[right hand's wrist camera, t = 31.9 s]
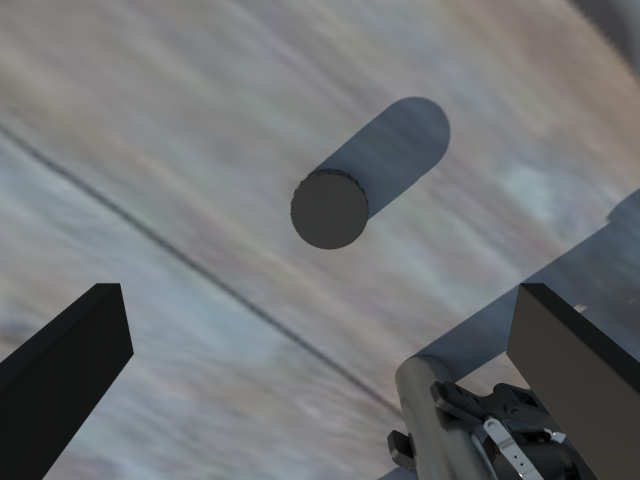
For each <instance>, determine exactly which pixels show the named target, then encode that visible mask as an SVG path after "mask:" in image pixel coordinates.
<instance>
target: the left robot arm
mask: <svg viewBox="0 0 640 480" xmlns="http://www.w3.org/2000/svg"><path fill="white" fill-rule="evenodd" d="M429 389H430V392H431V395H432V397H433V400H434V402H435V404H436V405H437V406H438V407H439V408H441V409H442V410H444V411H446V412H448V413H450V414H452V415H454V416H456V417H457V418H459V419H461V420H463V421H465V422H467V423H469V424H471V425H473V426H474V427H476V428H477V427H478V426H479V425H480V424H481V425H483V428H484V429H485V431H486V432H487V433H488V434H489V435H488V436H487V438H486V439H485V441H484V442H483V444H482V445H483V448H484V450H485V452H486V454H487V456H488V458H489V461H490V463H491V465H492V467H493V469H494V472H495V474H496V476H497V478H498V480H598V479H597V478H596V476H595V475H594V473H593V472H592V471H591V469H590V468H589V467H588V465H587V464H586V463H585V461H584V460H583V458H582V457H581V456H580V454H579V453H578V452H577V450H575V449H573V448H571V447H569V446H568V445H566V444H564V443H562V442H563V440H564V439H565V437H566V435H565V434H564V432H563V431H562V430H561V428H560V427H559V426H558V424H557V423H556V421H555V420H554V419H553V417H552V416H551V415H550V413H549V412H548V410H547V409H546V408H545V406H544V405H543V404H542V402H541V401H540V400H539V398H538V397H537V395H536V394H535V393H534V392H533V391H529V390H526V389H522V388H519V387H515V386H512V385H509V384H505V383H499V384H497V385H495V387H494V388H493V393H492V394H490V395H488V396H485V397H484V396H477V395H475V394H473V393H471V392H469V391H467V390H466V389H464V388H462V387H460V386H458V385H456V384H455V383H453V382H448V381H445V382H444V383H443V384H442V383H440V382H438V381H435V382H434V383H433V384H432V385H431V387H430V388H429ZM508 417H509V418H510V419H513V420H517V421H520V422H524V423H527V424H531V425H534V426H538V427H541V428H543V429H524V430H513V429H512V428H511V427H510V426H509V424H508V423H507V422H506V421H505V419H506V418H508ZM387 439H388V445H389V450H390V454H391V455H392V459H393V461H394V462H395V463H396V464H397V465H399V466H401V467H403V468H405V469H408V470H409V471H411V472H413V473H415V474H416V477H417V480H419V477H418V473H417V469H416V465H415V461H414V457H413V453H412V449H411V445H410V440H409V437H408V436H406V435H404V434H402V433H400V432H398V431H396V430H393V431H392V432H391V433H390V434H389V436H388V437H387Z"/></svg>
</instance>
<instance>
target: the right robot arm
mask: <svg viewBox="0 0 640 480" xmlns="http://www.w3.org/2000/svg"><path fill="white" fill-rule="evenodd" d="M133 354H134V352H133V347H132V342H131V337H130V332H129V326H128V321H127V316H126V311H125V306H124V301H123V296H122V291H121V286H120V283H96V284H95V285H94V286H93V287H92V288H90V289H89V290H88V291H87V292H86V293H84V294H83V295H82V296H81V297H80V298H78V299H77V300H76V301H75V302H73V303H72V304H71V305H70V306H69V307H67V308H66V309H65V310H64V311H63V312H61V313H60V314H59V315H58V316H57V317H55V318H54V319H53V320H52V321H50V322H49V323H48V324H47V325H46V326H44V327H43V328H42V329H41V330H40V331H38V332H37V333H36V334H35V335H34V336H32V337H31V338H30V339H29V340H27V341H26V342H25V343H24V344H23V345H21V346H20V347H19V348H18V349H17V350H15V351H14V352H13V353H12V354H11V355H9V356H8V357H7V358H6V359H4V360H3V361H2V362H1V363H0V480H42V479H43V478H44V476H45V475H46V473H47V472H48V471H49V469H50V468H51V467H52V465H53V464H54V463H55V461H56V460H57V458H58V457H59V456H60V454H61V453H62V452H63V450H64V449H65V447H66V446H67V445H68V443H69V442H70V441H71V439H72V438H73V437H74V435H75V434H76V432H77V431H78V430H79V428H80V427H81V426H82V424H83V423H84V421H85V420H86V419H87V417H88V416H89V415H90V413H91V412H92V410H93V409H94V408H95V406H96V405H97V404H98V402H99V401H100V400H101V398H102V397H103V395H104V394H105V393H106V391H107V390H108V389H109V387H110V386H111V384H112V383H113V382H114V380H115V379H116V378H117V376H118V375H119V373H120V372H121V371H122V369H123V368H124V367H125V365H126V364H127V363H128V361H129V360H130V358H131V357H132V356H133ZM506 354H507V356H508V357H509V358H510V360H511V361H512V363H513V364H514V365H515V367H516V368H517V369H518V371H519V372H520V373H521V375H522V376H523V378H524V379H525V380H526V382H527V383H528V384H529V386H530V387H531V389H532V390H533V391H534V393H535V394H536V395H537V397H538V398H539V400H540V401H541V402H542V404H543V405H544V406H545V408H546V409H547V410H548V412H549V413H550V415H551V416H552V417H553V419H554V420H555V421H556V423H557V424H558V426H559V427H560V428H561V430H562V431H563V432H564V434H565V435H566V437H567V438H568V439H569V441H570V442H571V443H572V445H573V446H574V447H575V449H576V450H577V452H578V453H579V454H580V456H581V457H582V458H583V460H584V461H585V463H586V464H587V465H588V467H589V468H590V469H591V471H592V472H593V473H594V475H595V476H596V478H597V479H598V480H640V363H639V362H638V361H637V360H636V359H634V358H633V357H632V356H631V355H629V354H628V353H627V352H626V351H625V350H623V349H622V348H621V347H620V346H619V345H617V344H616V343H615V342H614V341H613V340H611V339H610V338H609V337H608V336H606V335H605V334H604V333H603V332H602V331H600V330H599V329H598V328H597V327H596V326H594V325H593V324H592V323H591V322H590V321H588V320H587V319H586V318H585V317H583V316H582V315H581V314H580V313H579V312H577V311H576V310H575V309H574V308H573V307H571V306H570V305H569V304H568V303H567V302H565V301H564V300H563V299H562V298H560V297H559V296H558V295H557V294H556V293H554V292H553V291H552V290H551V289H550V288H548V287H547V286H546V285H545V284H544V283H520V286H519V291H518V296H517V301H516V306H515V311H514V316H513V321H512V326H511V332H510V337H509V342H508V347H507V352H506Z"/></svg>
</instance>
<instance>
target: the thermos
mask: <svg viewBox="0 0 640 480" xmlns="http://www.w3.org/2000/svg"><path fill="white" fill-rule="evenodd" d="M435 381H438V382H440V383H442V384H443V383H444V382H445V381H448V382H453V380H452V378H451V375H450V373H449V371H448V369H447V367H446V365H445V364H444V363H443V362H442V361H440V360H439V359H437V358H435V357H432V356H426V355H422V356H416V357H412V358H410V359H408V360H406V361H405V362H404V363H403V364H402V365H401V366H400V367H399V368H398V370H397V373H396V376H395V382H396V387H397V391H398V395H399V399H400V403H401V407H402V412H403V416H404V420H405V424H406V428H407V432H408V436H409V440H410V445H411V449H412V453H413V457H414V461H415V465H416V469H417V473H418V477H419V480H498V478H497V476H496V474H495V472H494V469H493V467H492V465H491V463H490V461H489V458H488V456H487V454H486V452H485V450H484V448H483V445H482V443H481V441H480V439H479V437H478V434H477V432H476V430H475V428H474V426H473V425H471V424H469V423H467V422H465V421H463V420H461V419H459V418H457V417H456V416H454V415H452V414H450V413H448V412H446V411H444V410H442V409H441V408H439V407H438V406H437V405H436V404H435V402H434V400H433V397H432V395H431V392H430V389H429V388H430V387H431V385H432V384H433V383H434V382H435ZM453 383H454V382H453Z"/></svg>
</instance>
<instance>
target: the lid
mask: <svg viewBox="0 0 640 480" xmlns="http://www.w3.org/2000/svg"><path fill="white" fill-rule="evenodd" d="M364 194H365V192H364V190H363V188H362V189H361V187H360V185H359V184H358V181H357V180H355V179H353V178H352V177H351V176H350V174H346V173H344V172H341V171H340V170H330V169H328V170H321V171H319V170H318V172H315V173H313V174H311V175H310V174H309V175H308V177H307V178H305V179H304V180H303V181H301V183H300V185H299V187H298V188H297V189H296V190H295V192H294V198H293V199H292V202H291V213H290V215H291V220H292V223H293V226H294V228H295V230H296V232H297V233H298V234H299V236H300V237H301V238H302V239H303V240H304V241H306V242H307V243H309V244H310V245H312V246H314V247H317V248H321V249H338V248H342V247H344V246H347V245H349V244H350V243H352V242H353V241H354V240H356V239H357V238H358V237H359V236H360V234H361V233H362V232H363V230H364V228H365V226H366V223H367V219H368V214H369V212H368V201H367V199H366V197H365V195H364Z"/></svg>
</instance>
